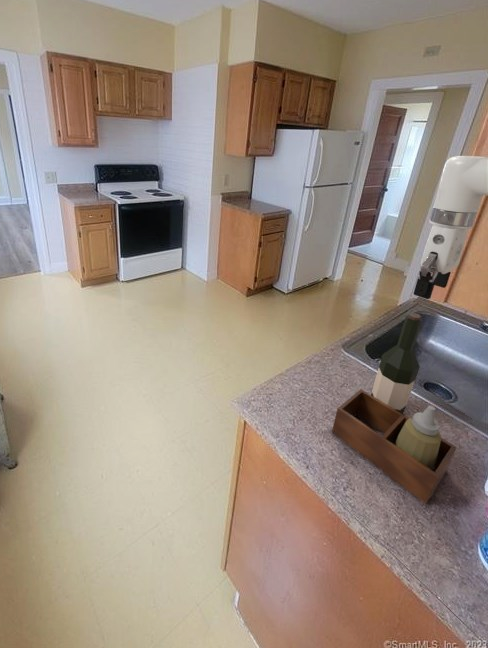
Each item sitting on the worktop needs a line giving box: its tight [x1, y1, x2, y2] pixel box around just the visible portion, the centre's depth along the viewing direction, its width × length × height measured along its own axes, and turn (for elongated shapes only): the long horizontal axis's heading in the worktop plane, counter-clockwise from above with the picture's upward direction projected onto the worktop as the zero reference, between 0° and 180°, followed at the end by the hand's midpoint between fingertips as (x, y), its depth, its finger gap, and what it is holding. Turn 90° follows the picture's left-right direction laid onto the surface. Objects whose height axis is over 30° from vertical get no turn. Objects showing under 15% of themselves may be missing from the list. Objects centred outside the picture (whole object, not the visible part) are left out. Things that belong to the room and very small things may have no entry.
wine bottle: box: [370, 312, 423, 415], centre depth 83 cm, size 8×8×30 cm
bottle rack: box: [331, 388, 458, 504], centre depth 75 cm, size 21×11×8 cm, turn 38°
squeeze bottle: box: [394, 405, 442, 472], centre depth 69 cm, size 8×8×18 cm
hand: (429, 291), depth 74 cm, fingers open, 9 cm apart
